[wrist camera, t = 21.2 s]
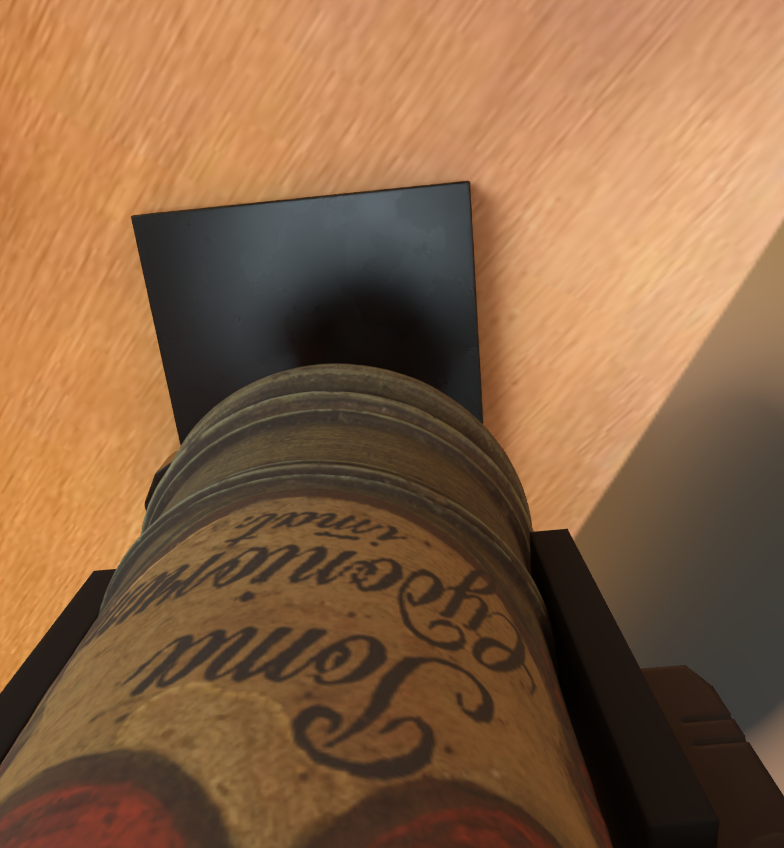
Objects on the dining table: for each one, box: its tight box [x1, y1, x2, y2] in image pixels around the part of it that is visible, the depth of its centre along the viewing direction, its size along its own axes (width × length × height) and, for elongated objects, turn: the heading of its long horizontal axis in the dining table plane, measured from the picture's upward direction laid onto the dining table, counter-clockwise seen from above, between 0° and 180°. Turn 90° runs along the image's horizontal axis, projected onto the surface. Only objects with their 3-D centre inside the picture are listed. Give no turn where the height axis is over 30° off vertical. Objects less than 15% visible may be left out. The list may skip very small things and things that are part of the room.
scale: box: [131, 181, 483, 511], centre depth 28 cm, size 15×14×3 cm
